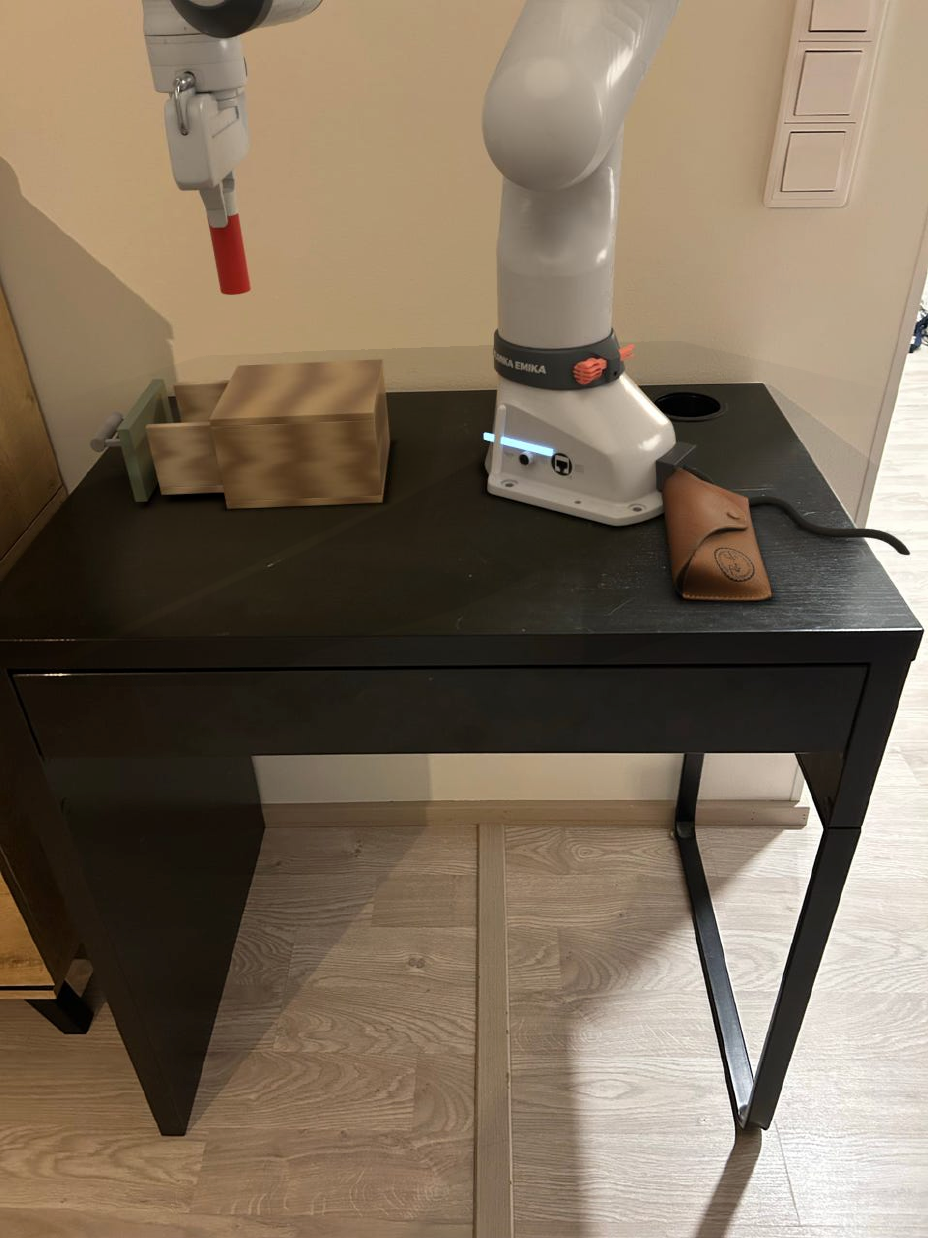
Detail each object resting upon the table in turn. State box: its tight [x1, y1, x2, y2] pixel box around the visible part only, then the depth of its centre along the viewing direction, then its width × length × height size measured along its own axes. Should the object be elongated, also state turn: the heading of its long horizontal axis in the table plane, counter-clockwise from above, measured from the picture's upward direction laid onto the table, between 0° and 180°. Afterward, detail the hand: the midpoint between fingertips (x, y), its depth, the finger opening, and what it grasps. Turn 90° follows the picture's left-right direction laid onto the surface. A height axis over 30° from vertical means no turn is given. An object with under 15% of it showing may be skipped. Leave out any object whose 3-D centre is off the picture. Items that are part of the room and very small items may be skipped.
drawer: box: [89, 378, 230, 503], centre depth 99 cm, size 19×13×8 cm
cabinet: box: [209, 358, 391, 510], centre depth 99 cm, size 16×15×10 cm
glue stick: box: [204, 188, 252, 296], centre depth 100 cm, size 3×3×10 cm
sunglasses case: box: [661, 468, 772, 603], centre depth 85 cm, size 18×7×7 cm
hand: (224, 220), depth 99 cm, fingers closed on glue stick, 3 cm apart
